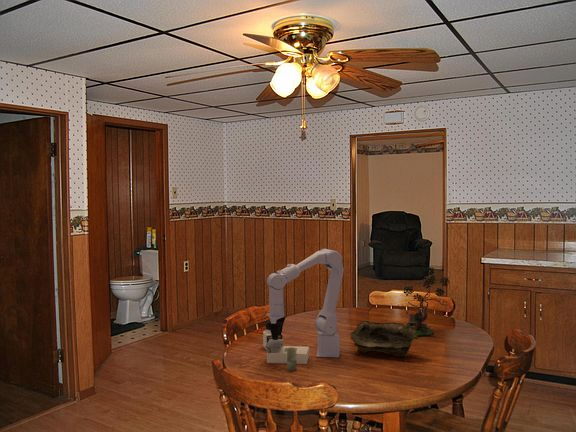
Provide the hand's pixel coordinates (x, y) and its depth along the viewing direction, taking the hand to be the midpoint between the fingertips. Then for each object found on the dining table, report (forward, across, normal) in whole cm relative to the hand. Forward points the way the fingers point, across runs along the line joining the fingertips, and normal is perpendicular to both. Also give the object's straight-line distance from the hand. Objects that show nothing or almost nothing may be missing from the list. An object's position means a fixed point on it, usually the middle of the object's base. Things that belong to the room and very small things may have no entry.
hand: (277, 337), depth 205 cm
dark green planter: (+10, -14, +43) cm, 46 cm away
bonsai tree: (+10, -54, +63) cm, 84 cm away
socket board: (+10, -3, +4) cm, 11 cm away
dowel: (+10, +8, +7) cm, 15 cm away
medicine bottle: (+10, -18, -5) cm, 21 cm away
